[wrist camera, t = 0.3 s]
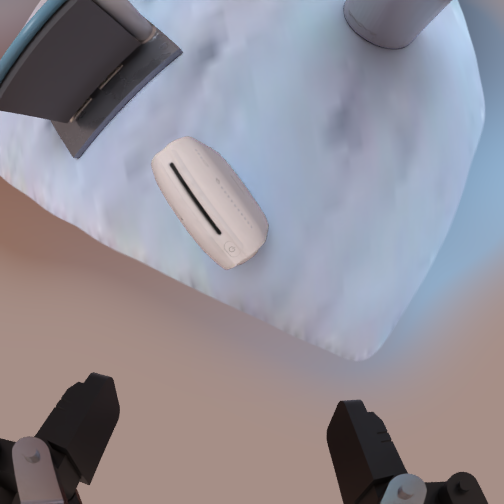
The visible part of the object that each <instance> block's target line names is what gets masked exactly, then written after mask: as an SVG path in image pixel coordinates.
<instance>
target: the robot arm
mask: <svg viewBox="0 0 504 504" xmlns="http://www.w3.org/2000/svg"><path fill="white" fill-rule="evenodd" d="M451 1H452V0H346V2H345V5H344V15H345V18H346V20H347V22H348V23H349V25H350V26H351V27H352V29H353V30H354V31H355V32H356V33H358V34H359V35H360V36H361V37H363V38H364V39H366V40H367V41H369V42H371V43H373V44H375V45H378V46H381V47H384V48H390V49H399V48H403V47H405V46H407V45H409V44H410V43H411V42H412V41H413V40H414V39H415V38H416V37H417V35H418V34H419V33H420V32H421V31H422V30H423V29H424V28H425V27H426V26H427V25H428V24H429V23H430V22H431V21H432V20H433V19H434V18H435V17H436V16H437V15H438V14H439V13H440V12H441V11H442V10H443V9H444V8H445V7H446V6H447V5H448V4H449V3H450V2H451ZM119 413H120V406H119V402H118V398H117V393H116V389H115V384H114V380H113V378H112V377H109V376H105V375H100V374H97V373H94V372H93V373H91V374H90V375H89V376H88V378H87V379H86V381H85V382H84V383H81V382H78V383H76V384H74V385H73V386H71V387H70V388H68V389H67V391H66V392H65V394H64V395H63V396H62V398H61V400H60V401H59V402H58V403H57V405H56V408H54V409H53V411H52V412H51V413H50V415H49V416H48V418H47V419H46V421H45V422H44V424H43V425H42V427H41V428H40V430H39V431H38V433H37V434H36V435H35V436H34V437H23V438H21V439H19V440H18V441H17V442H12V441H9V440H5V439H1V438H0V504H82V501H81V499H80V496H79V494H78V491H77V489H76V488H77V485H78V483H79V481H80V482H82V483H85V484H87V485H90V483H91V481H92V478H93V476H94V473H95V471H96V469H97V467H98V464H99V462H100V459H101V457H102V455H103V453H104V450H105V448H106V446H107V444H108V441H109V439H110V437H111V435H112V432H113V430H114V428H115V426H116V424H117V421H118V419H119ZM327 443H328V447H329V451H330V454H331V458H332V461H333V465H334V469H335V473H336V477H337V480H338V484H339V488H340V492H341V496H342V499H343V503H344V504H488V502H487V500H486V498H485V496H484V494H483V492H482V490H481V488H480V486H479V484H478V482H477V480H476V478H475V477H474V476H472V475H471V474H469V473H466V472H459V473H456V474H454V475H452V476H451V478H449V479H448V481H446V482H431V483H427V482H423V480H422V479H421V478H419V477H418V476H416V475H413V474H408V473H407V471H406V469H405V467H404V465H403V463H402V461H401V458H400V456H399V454H398V452H397V450H396V448H395V446H394V444H393V442H391V437H390V435H389V433H387V429H386V427H385V425H384V423H383V421H382V420H381V419H380V418H379V417H378V416H377V415H376V414H375V413H374V412H367V410H366V408H365V406H364V404H363V402H362V401H361V400H347V401H340V402H339V403H338V405H337V408H336V410H335V412H334V415H333V417H332V419H331V421H330V424H329V426H328V429H327Z"/></svg>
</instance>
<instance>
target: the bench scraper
mask: <svg viewBox="0 0 504 504" xmlns="http://www.w3.org/2000/svg"><path fill="white" fill-rule="evenodd" d="M152 31H153V28H152V26H151V25H150V24H149V23H148V22H147V21H146V19H145V18H144V17H143V16H142V15H141V14H140V13H139V12H138V11H137V10H136V9H135V7H134V6H133V5H132V4H131V3H130V2H129V1H128V0H47V1H46V3H45V4H44V5H43V6H42V7H41V8H40V9H39V10H38V11H37V12H36V14H35V15H34V16H33V17H32V18H31V19H30V21H29V22H28V23H27V24H26V26H25V27H24V28H23V29H22V31H21V32H20V33H19V35H18V36H17V37H16V39H15V40H14V41H13V43H12V44H11V45H10V47H9V48H8V49H7V51H6V52H5V54H4V55H3V57H2V58H1V60H0V111H6V112H12V113H17V114H23V115H28V116H33V117H39V118H43V119H48V120H53V121H58V122H62V123H68V122H69V121H70V119H71V118H72V117H73V115H74V114H75V113H76V112H77V110H78V109H79V108H80V107H81V106H82V104H83V103H84V102H85V101H86V100H87V98H88V97H89V96H90V95H91V94H92V93H93V92H94V90H95V89H96V88H97V87H98V86H99V85H100V84H101V83H102V82H103V81H104V80H105V78H106V77H107V76H108V75H109V74H110V73H111V72H112V71H113V70H114V69H115V68H116V67H117V66H118V65H119V64H120V63H121V62H122V61H123V60H124V59H125V58H126V57H128V56H129V55H130V54H131V53H132V52H133V51H134V50H135V49H136V48H137V47H138V46H140V45H141V44H140V43H139V42H138V41H137V40H139V41H141V40H144V39H146V38H148V37H149V36H150V35H151V34H152Z"/></svg>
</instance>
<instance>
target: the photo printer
mask: <svg viewBox="0 0 504 504" xmlns="http://www.w3.org/2000/svg"><path fill="white" fill-rule="evenodd" d="M151 166H152V170H153V173H154V176H155V179H156V182H157V184H158V186H159V188H160V190H161V191H162V193H163V195H164V197H165V198H166V200H167V201H168V203H169V205H170V206H171V208H172V209H173V211H174V212H175V214H176V215H177V217H178V218H179V220H180V221H181V223H182V224H183V225H184V227H185V228H186V229H187V231H188V232H189V233H190V235H191V236H192V237H193V238H194V240H195V241H196V242H197V244H198V245H199V246H200V247H201V248H202V249H203V251H204V252H205V253H207V254H208V255H209V256H210V257H211V258H212V259H213V260H214V261H215V262H216V263H217V264H218V265H220V266H221V267H222V268H224V269H225V270H228V269H231V268H233V267H235V266H236V265H241V264H243V263H245V262H246V261H248V260H249V259H250V258H252V257H253V256H254V255H255V254H256V253H257V251H258V249H259V248H260V247H261V246H262V245H263V244H264V243H265V241H266V237H267V232H268V226H269V224H268V222H267V219H266V217H265V215H264V213H263V212H262V210H261V208H260V207H259V205H258V204H257V202H256V201H255V199H254V198H253V196H252V195H251V193H250V192H249V191H248V189H247V188H246V186H245V185H244V184H243V182H242V181H241V180H240V178H239V177H238V176H237V174H236V173H235V172H234V170H233V169H232V168H231V166H230V165H229V164H228V163H227V162H226V160H225V159H224V158H223V157H222V156H221V155H220V154H219V153H218V152H216V151H215V150H214V149H212V148H210V147H208V146H207V145H205V144H203V143H201V142H200V141H198V140H196V139H194V138H192V137H182V138H179V139H177V140H175V141H173V142H171V143H169V144H168V145H167V146H166V147H165V148H164V149H163V150H162V151H161V152H159V153H157V154H156V155H155V156H154V158H153V160H152V162H151Z"/></svg>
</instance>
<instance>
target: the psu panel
mask: <svg viewBox="0 0 504 504" xmlns="http://www.w3.org/2000/svg"><path fill="white" fill-rule="evenodd" d="M146 21H147V22H148V23H149V24H150V25H151V26H152V28H153V31H152V34H151V35H150V36H149V37H148V38H146V39H144V40H141V41H139V40H137V41H138V42H139V43H140V44H141V45H140V46H138V47H137V48H136V49H135V50H134V51H133V52H132V53H131V54H130V55H129V56H128V57H126V58H125V59H124V60H123V61H122V62H121V63H120V64H119V65H118V66H117V67H116V68H115V69H114V70H113V71H112V72H111V73H110V74H109V75H108V76H107V77H106V78H105V80H104V81H103V82H102V83H101V84H100V85H99V86H98V87H97V88H96V89H95V90H94V92H93V93H92V94H91V95H90V96H89V97H88V98H87V100H86V101H85V102H84V103H83V104H82V106H81V107H80V108H79V109H78V110H77V112H76V113H75V114H74V115H73V117H72V118H71V119H70V121H69V122H68V123H62V122H58V121H53V120H51V122H52V124H53V125H54V127H55V129H56V131H57V132H58V134H59V135H60V137H61V139H62V140H63V142H64V144H65V145H66V147H67V148H68V150H69V152H70V153H71V155H72V156H73V158H80V156H81V155H82V154H83V152H84V151H85V150H86V149H87V147H88V146H89V145H90V144H91V143H92V141H93V140H94V139H95V138H96V137H97V135H98V134H99V133H100V132H101V131H102V129H103V128H104V127H105V126H106V125H107V124H108V123H109V122H110V120H111V119H112V118H113V117H114V116H115V115H116V114H117V113H118V112H119V111H120V110H121V109H122V108H123V106H124V105H125V104H126V103H127V102H128V101H129V100H130V99H131V98H132V97H133V96H134V95H135V94H136V93H137V92H138V91H139V90H140V89H141V88H142V87H144V86H145V85H146V84H147V83H148V82H149V81H150V80H151V79H152V78H153V77H154V76H155V75H157V74H158V73H159V72H160V71H161V70H162V69H163V68H164V67H166V66H167V65H168V64H169V63H170V62H172V61H173V60H174V59H175V58H176V57H178V56H179V55H180V54H181V53H182V50H181V49H180V48H179V47H178V46H177V45H176V44H175V43H174V42H172V41H171V40H170V39H169V38H168V37H167V36H166V35H164V34H163V33H162V32H161V31H160V30H159V29H157V28H156V27H155V26H154V25H153V24H152V23H150V22H149V21H148V20H147V19H146Z"/></svg>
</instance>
